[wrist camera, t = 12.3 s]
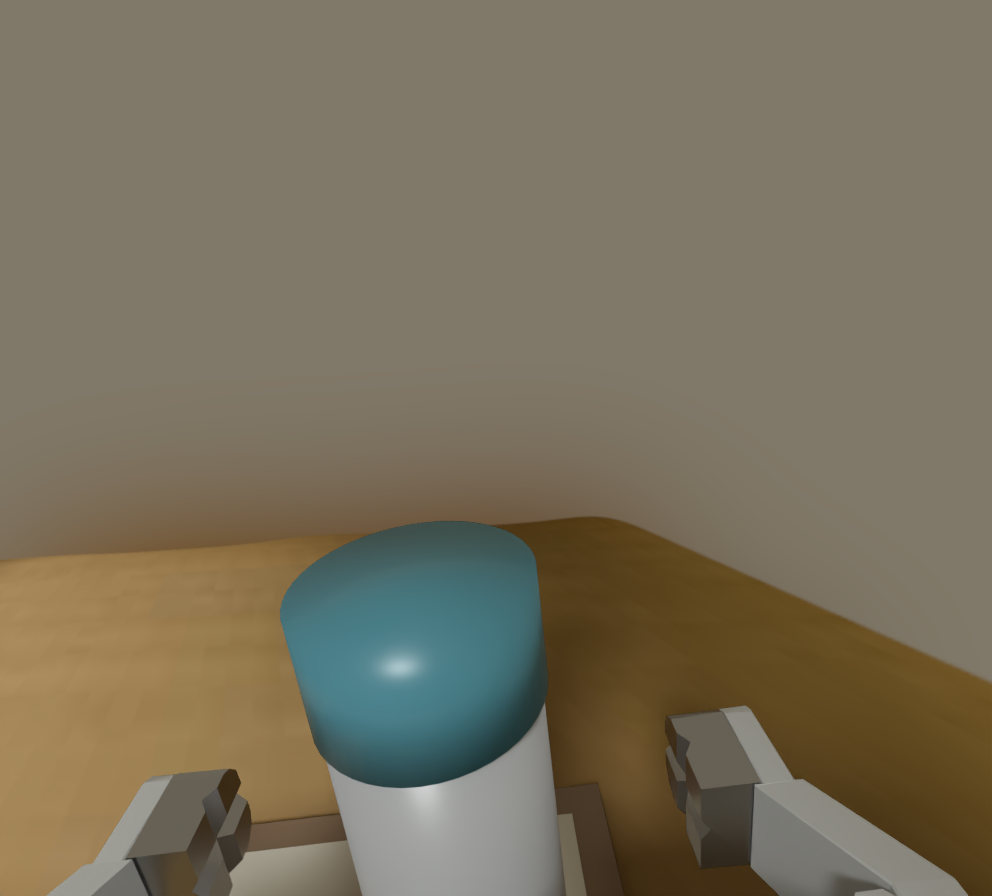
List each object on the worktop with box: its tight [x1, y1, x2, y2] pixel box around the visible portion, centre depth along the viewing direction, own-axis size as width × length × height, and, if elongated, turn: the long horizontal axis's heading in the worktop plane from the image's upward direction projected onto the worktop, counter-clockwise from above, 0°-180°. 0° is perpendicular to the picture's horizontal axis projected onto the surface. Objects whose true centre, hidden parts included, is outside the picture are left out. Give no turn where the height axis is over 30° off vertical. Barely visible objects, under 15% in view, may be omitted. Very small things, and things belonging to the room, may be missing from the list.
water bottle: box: [280, 521, 566, 896], centre depth 10 cm, size 4×4×12 cm
